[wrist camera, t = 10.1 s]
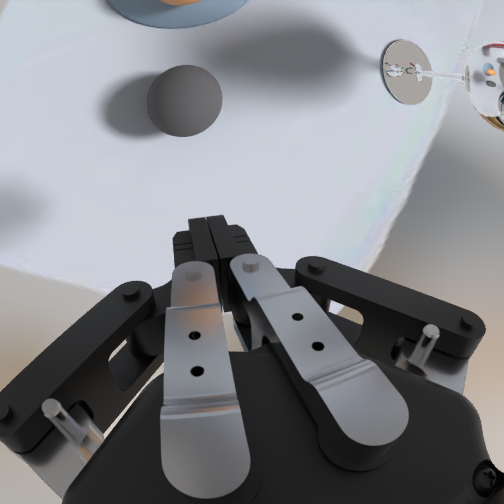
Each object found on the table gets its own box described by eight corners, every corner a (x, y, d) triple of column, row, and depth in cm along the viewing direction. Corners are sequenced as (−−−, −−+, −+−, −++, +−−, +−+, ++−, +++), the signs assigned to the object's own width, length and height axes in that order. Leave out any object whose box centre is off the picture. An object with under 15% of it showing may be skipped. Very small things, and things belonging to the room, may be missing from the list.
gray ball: (148, 154, 19) (150, 123, 23) (226, 146, 21) (215, 117, 24) (141, 80, 15) (146, 62, 19) (230, 73, 16) (217, 57, 20)
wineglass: (370, 47, 23) (563, 61, 6) (419, 33, 22) (582, 52, 6) (394, 115, 27) (566, 179, 10) (437, 95, 27) (588, 144, 10)
